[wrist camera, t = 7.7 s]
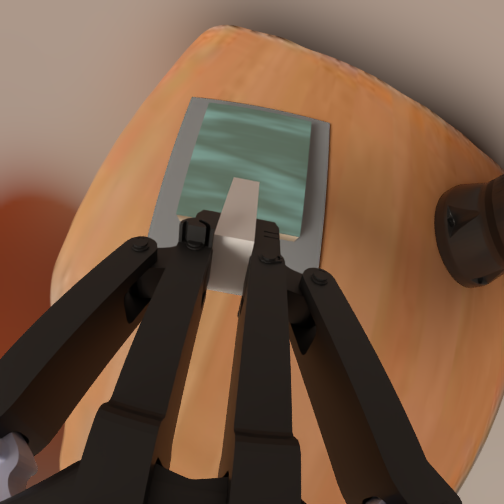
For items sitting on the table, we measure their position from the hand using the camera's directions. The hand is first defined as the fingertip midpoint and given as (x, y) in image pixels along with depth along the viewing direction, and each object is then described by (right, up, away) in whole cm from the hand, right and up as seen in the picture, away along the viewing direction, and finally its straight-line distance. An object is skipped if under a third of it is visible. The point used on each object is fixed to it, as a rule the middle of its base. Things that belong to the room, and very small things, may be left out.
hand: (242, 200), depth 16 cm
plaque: (-1, -1, +11) cm, 11 cm away
